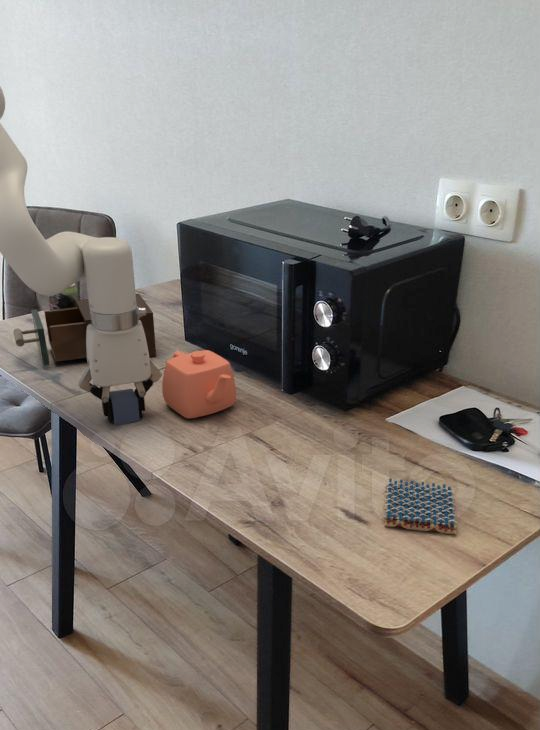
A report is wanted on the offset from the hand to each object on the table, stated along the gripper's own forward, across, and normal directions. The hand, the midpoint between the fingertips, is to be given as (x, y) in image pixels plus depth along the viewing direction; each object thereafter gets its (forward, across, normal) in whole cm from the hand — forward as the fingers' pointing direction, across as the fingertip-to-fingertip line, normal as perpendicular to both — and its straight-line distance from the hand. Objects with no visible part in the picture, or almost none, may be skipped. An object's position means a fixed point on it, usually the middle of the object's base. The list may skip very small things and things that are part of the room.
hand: (124, 415), depth 125 cm
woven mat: (+1, -34, +43) cm, 55 cm away
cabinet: (0, -5, -31) cm, 31 cm away
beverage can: (+1, +4, -44) cm, 44 cm away
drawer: (-1, +7, -31) cm, 32 cm away
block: (0, 0, 0) cm, 0 cm away
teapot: (+1, -14, +1) cm, 14 cm away
